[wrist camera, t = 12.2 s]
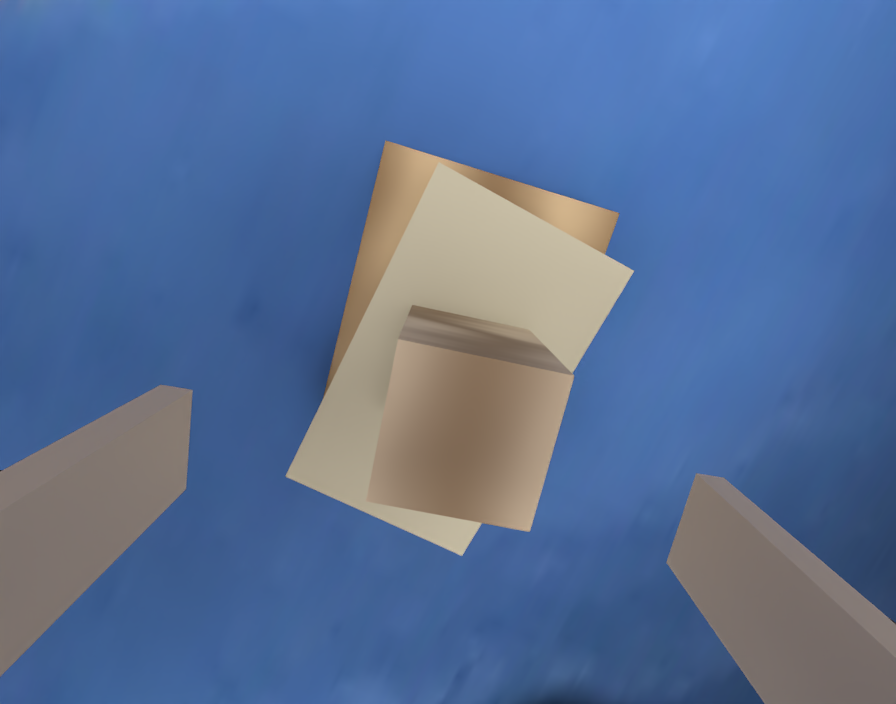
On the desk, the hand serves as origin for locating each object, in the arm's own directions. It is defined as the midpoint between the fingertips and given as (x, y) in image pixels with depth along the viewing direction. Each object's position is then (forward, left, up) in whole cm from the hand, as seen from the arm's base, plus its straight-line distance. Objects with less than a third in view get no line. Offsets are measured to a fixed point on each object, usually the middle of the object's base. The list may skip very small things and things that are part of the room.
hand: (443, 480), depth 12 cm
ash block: (+1, +1, -9) cm, 9 cm away
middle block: (0, 0, -14) cm, 14 cm away
